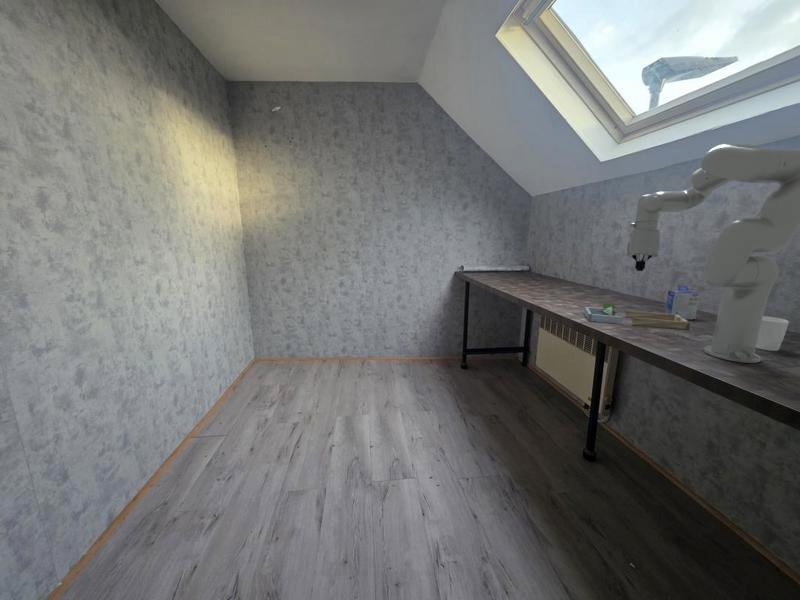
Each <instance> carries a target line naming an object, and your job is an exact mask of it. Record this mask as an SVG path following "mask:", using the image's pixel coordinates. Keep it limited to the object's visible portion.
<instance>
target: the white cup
mask: <svg viewBox="0 0 800 600" xmlns="http://www.w3.org/2000/svg"><path fill="white" fill-rule="evenodd" d="M789 323H790V321H789V320H787V319H784V318H779V317H774V316H766V315H763V319H762V323H761V327H760V331H759V335H758V340H757V344H756V348H755V349H759V350H763V351H768V352H769V351H770V352H778V351H779V350H780V347H781V344H782V343H783V340H784V338H785V335H786V333H787V329H788V326H789Z"/></svg>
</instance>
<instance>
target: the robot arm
mask: <svg viewBox="0 0 800 600" xmlns="http://www.w3.org/2000/svg"><path fill="white" fill-rule="evenodd" d="M700 166H701V167H700V168H698V169H697V170H695V171H693V173H692V174H691V176H690V183H691V187H689V188H688V189H686V190H682V191H676V190H675V191H671V190H670V191H657V192H654V193H651V194H643V195H640V196H639V197H638V199H637V205H636V213H635V220H634V222H632V223H630V225H629V227H630V228H631V227H632V228H633V229H632V230H631V232H630V235H629V238H628V243H627V249H626V254H625V256H626V257H629V258H632V259H633V260H634V261H635V267H634V268H635V270H636V271H637V272H644V270H645V268H646V262H648V260H649V259H651V258H657V257H658V256H659V255H658V253H659V250H660V244H661V243H660V242H661V232H660V229H658V225H659V218H660V213H681V212H684V211H687V210H689V209H692V208H694V207H696V206H698V205H700V204H702V203H703V202H705V201H706V200H707V199H708V198H709V197H710V196H711V194H712V192H713V191H715V190H716V189H718V188H721V187H723V186H724V185H726V184H728V183H730V182H732V181H735V182H741V183H749V184H750V183H751V184H778V185H779V186H778V187H777V188H776V189H775V190H774V191H773V192H771V194H770V195H768V196H767V198H766V199H765V200H764V202H763V203H762V205H761V208H760V210H759V211H758V213H757V214H756V216H755V217H746V218H740V219H736V220H734V221H732V222H730V223H729V224H727V225H726V226H725V227H724V228H723V229H722V230H721V231H720V233H719V235H718V237H717V238H716V240H715V242H714V245H713V247H712V249H711V251H710V252H709V255H708V258H707V259H706V262H705V264H704V268H703V271H702V272H703V278H704V280H705V282H706V283H707V284H708V285H710V286H712V287H716V288H726V289H725V291H724V293H723V294H722V296H721V299H720V303H719V308H718V312H717V317H716V322H715V327H714V331H713V336H712V341H711V345H706V346H704V347H703V352H704V353H706V354H708V355H710V356H711V357H715V358H719V359H722V360H725V361H732V362H736V363H744V364H745V363H746V364H756V363H760V362H761V356H760V355H759V354H757V353H755V351H756V349H757V348H756V344H757V340H758V335H759V331H760V327H761V323H762V319H763V316H765V315H764V314H765V311H766V307H767V303H768V299H769V296H770V293H771V291H772V288H773V287H774V285H775V283H776V282H777V279H778V277H779V273H780V272H779V271H780V268H779V265H778V264H777V263H778V262H776V261H775V260H774V259H773V258H771V257H768V256H766V255H761V254H760V255H759V254H752V253H771V252H773V253H774V252H776V251H780V250H782V249H784V248H785V247H786V246H788V244H789V243H790V242H791V240H792V238H793V236H794V235H795V234H796V232H797V230H798V228H799V226H800V149H779V148H777V149H776V148H775V149H774V148H773V149H772V148H770V149H769V148H768V149H767V148H760V147H759V146H757V145H754V144H747V143H746V144H744V143H740V144H739V143H738V144H737V143H723V144H719V145H717V146H714V147H712V148H711V149H709V151H707V152H706V153H705V155H704V156H703V157H702V159H701V162H700ZM641 255H642V258H641Z"/></svg>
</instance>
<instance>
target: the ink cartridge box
mask: <svg viewBox="0 0 800 600" xmlns="http://www.w3.org/2000/svg"><path fill="white" fill-rule="evenodd" d="M677 287H678V288H677V290H667V297H666V298H667V299H666V306H665V312H664V313H668V314H677V315H679V316H680V317H682V318H684V319H685V320H693V319H695V320H696V316H697V311H698V305H699V300H700V293H701V292H697V291H694V290H689V287H688V285H678V286H677Z"/></svg>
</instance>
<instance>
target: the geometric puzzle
mask: <svg viewBox="0 0 800 600" xmlns="http://www.w3.org/2000/svg"><path fill="white" fill-rule="evenodd" d="M602 307H603V308H604V310H603V309H602V310H603V311H601V312H602V313H603V312H604V315H610V316H614V315H615V316H619V315H618V314H619V313H618V312H619V310H618V309H616V307H615V304H603V305H602ZM615 309H616V312H614V310H615ZM614 313H615V314H614ZM600 314H601V313H600ZM616 314H617V315H616Z"/></svg>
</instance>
